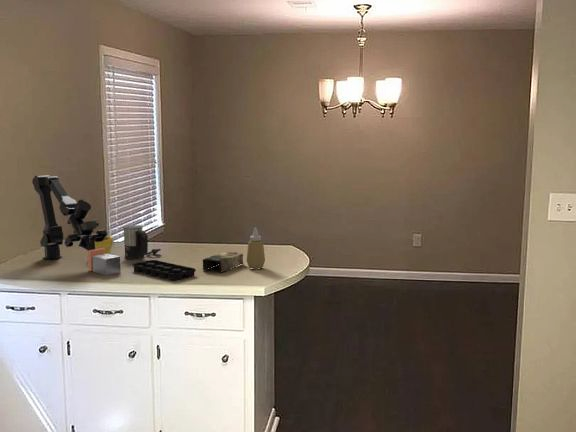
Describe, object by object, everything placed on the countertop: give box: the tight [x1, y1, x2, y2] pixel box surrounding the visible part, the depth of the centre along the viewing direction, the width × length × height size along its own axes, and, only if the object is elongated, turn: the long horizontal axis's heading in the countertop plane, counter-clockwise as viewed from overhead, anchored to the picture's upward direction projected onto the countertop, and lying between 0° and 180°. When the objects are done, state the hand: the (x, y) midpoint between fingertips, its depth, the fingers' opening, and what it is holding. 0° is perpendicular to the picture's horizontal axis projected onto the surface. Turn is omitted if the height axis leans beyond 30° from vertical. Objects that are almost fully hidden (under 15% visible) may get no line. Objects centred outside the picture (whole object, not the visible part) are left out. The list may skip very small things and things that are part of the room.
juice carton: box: [202, 251, 244, 273], centre depth 297 cm, size 20×10×6 cm, turn 153°
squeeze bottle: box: [246, 227, 266, 269], centre depth 294 cm, size 8×8×18 cm
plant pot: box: [95, 235, 114, 254], centre depth 316 cm, size 10×10×10 cm
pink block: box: [87, 248, 105, 272], centre depth 291 cm, size 10×7×9 cm, turn 49°
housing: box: [92, 253, 122, 276], centre depth 289 cm, size 10×7×7 cm
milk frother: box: [122, 224, 161, 260], centre depth 321 cm, size 14×16×15 cm
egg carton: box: [131, 259, 197, 282], centre depth 287 cm, size 18×30×4 cm, turn 62°
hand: (94, 253), depth 294 cm, fingers closed, pressing on pink block
